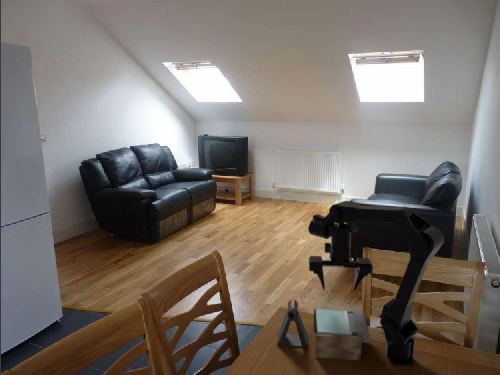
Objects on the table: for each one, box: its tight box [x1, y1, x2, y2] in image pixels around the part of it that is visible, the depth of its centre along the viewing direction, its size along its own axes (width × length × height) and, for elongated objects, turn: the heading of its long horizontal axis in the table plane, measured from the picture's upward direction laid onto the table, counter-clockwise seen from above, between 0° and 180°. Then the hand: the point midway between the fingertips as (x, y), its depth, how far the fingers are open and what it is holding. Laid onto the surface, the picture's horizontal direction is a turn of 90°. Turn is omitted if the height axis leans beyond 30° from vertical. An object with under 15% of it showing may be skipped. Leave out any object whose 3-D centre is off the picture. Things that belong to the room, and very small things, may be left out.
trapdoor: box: [315, 308, 370, 344], centre depth 114 cm, size 14×12×3 cm
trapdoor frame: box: [313, 308, 363, 361], centre depth 115 cm, size 12×14×7 cm
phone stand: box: [276, 299, 309, 349], centre depth 116 cm, size 9×6×12 cm, turn 84°
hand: (338, 289), depth 121 cm, fingers open, 9 cm apart
